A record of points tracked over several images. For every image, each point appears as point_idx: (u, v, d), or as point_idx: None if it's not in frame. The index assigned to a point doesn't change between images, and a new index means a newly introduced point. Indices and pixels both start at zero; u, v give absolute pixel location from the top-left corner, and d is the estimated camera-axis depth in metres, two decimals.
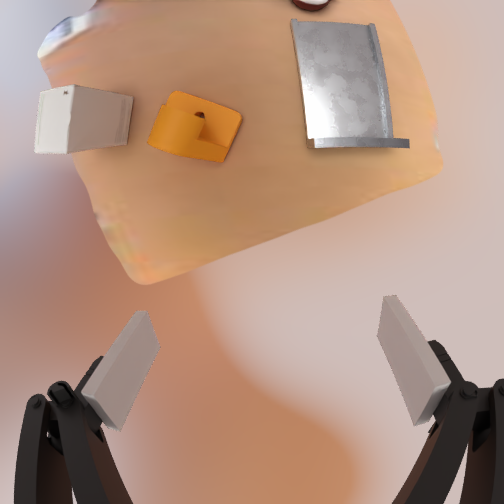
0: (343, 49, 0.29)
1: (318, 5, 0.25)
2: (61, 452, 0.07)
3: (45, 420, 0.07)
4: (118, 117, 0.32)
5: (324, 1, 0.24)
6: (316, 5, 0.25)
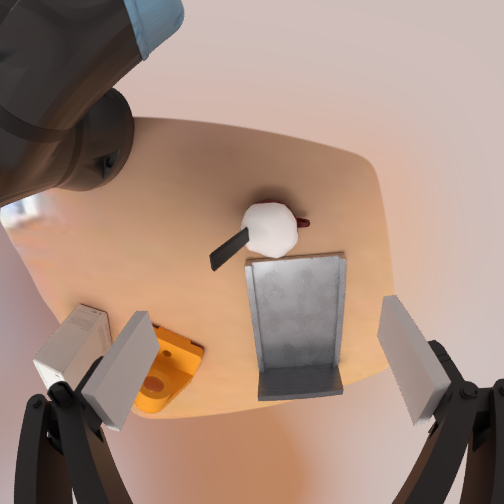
0: (302, 293, 0.36)
1: None
2: (61, 452, 0.07)
3: (45, 420, 0.07)
4: (99, 343, 0.39)
5: (283, 255, 0.30)
6: None
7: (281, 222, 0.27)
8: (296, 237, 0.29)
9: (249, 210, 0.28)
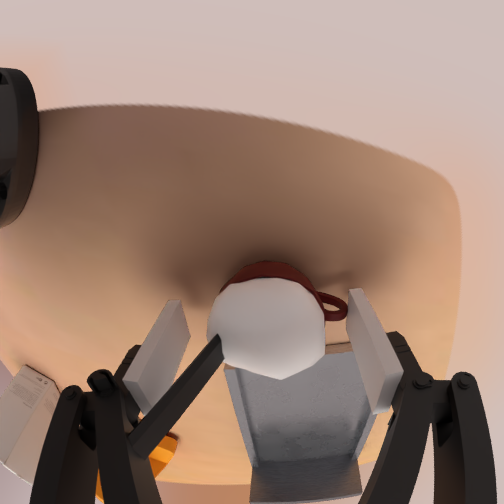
0: (319, 396, 0.20)
1: None
2: (91, 446, 0.08)
3: (78, 414, 0.08)
4: (50, 418, 0.23)
5: None
6: None
7: (294, 332, 0.12)
8: (322, 350, 0.13)
9: (221, 303, 0.12)
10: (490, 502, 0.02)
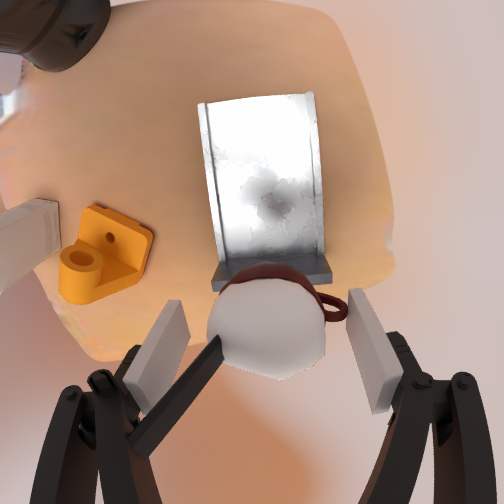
0: (266, 138, 0.28)
1: None
2: (91, 446, 0.08)
3: (78, 414, 0.08)
4: (43, 233, 0.31)
5: None
6: None
7: (294, 333, 0.12)
8: (322, 350, 0.13)
9: (221, 303, 0.12)
10: (490, 502, 0.02)
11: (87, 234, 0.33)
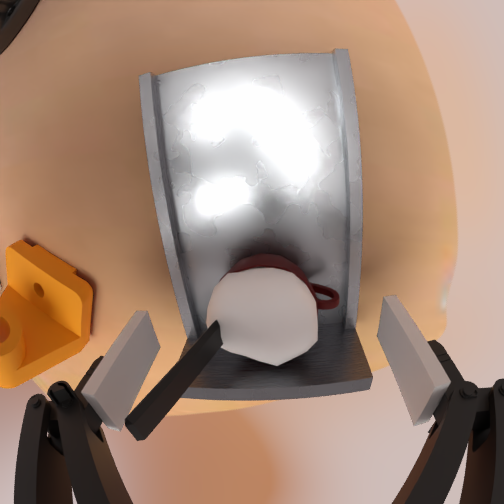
0: (262, 131, 0.15)
1: None
2: (61, 452, 0.07)
3: (45, 420, 0.07)
4: None
5: None
6: None
7: (287, 317, 0.13)
8: (315, 336, 0.14)
9: (220, 290, 0.13)
10: None
11: (15, 281, 0.19)
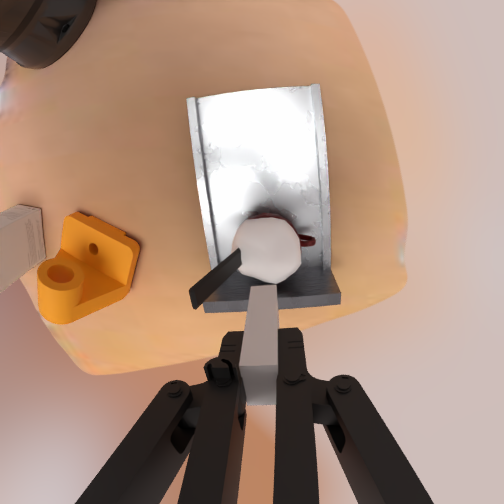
0: (265, 137, 0.25)
1: None
2: (179, 447, 0.08)
3: (178, 416, 0.08)
4: (25, 242, 0.27)
5: (283, 280, 0.25)
6: None
7: (281, 242, 0.22)
8: (299, 260, 0.24)
9: (241, 228, 0.23)
10: (421, 498, 0.04)
11: (69, 244, 0.29)
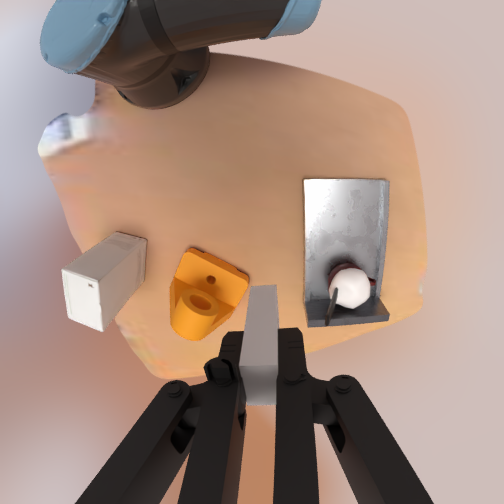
0: (351, 213, 0.38)
1: None
2: (179, 447, 0.08)
3: (178, 416, 0.08)
4: (136, 270, 0.40)
5: (356, 306, 0.38)
6: None
7: (363, 285, 0.35)
8: (369, 294, 0.37)
9: (340, 275, 0.36)
10: (421, 498, 0.04)
11: (185, 274, 0.41)
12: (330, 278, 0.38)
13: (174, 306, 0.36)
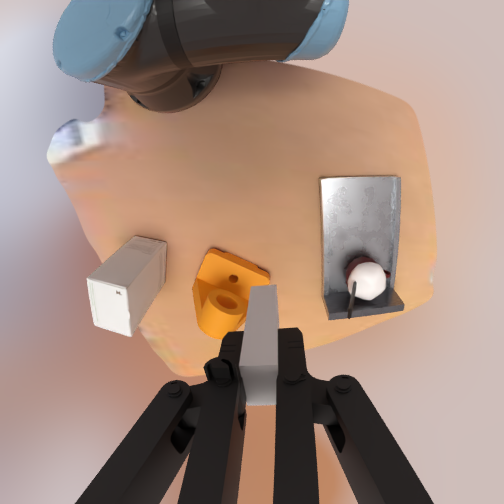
0: (366, 209, 0.39)
1: None
2: (179, 447, 0.08)
3: (178, 416, 0.08)
4: (158, 273, 0.41)
5: (373, 297, 0.39)
6: None
7: (379, 278, 0.36)
8: (384, 286, 0.38)
9: (358, 269, 0.37)
10: (421, 498, 0.04)
11: (208, 275, 0.43)
12: (348, 272, 0.40)
13: (200, 307, 0.38)
